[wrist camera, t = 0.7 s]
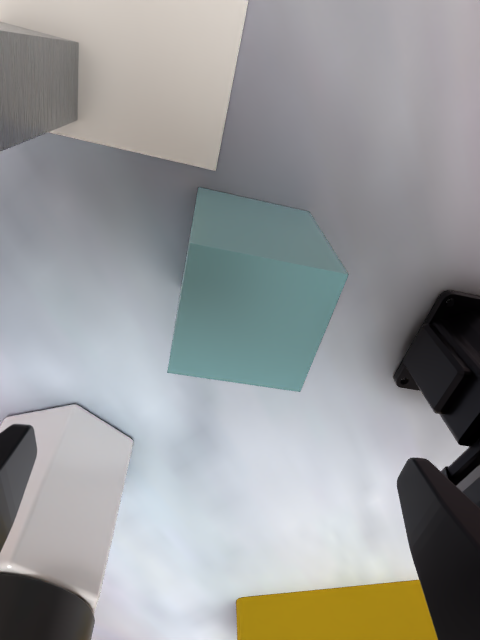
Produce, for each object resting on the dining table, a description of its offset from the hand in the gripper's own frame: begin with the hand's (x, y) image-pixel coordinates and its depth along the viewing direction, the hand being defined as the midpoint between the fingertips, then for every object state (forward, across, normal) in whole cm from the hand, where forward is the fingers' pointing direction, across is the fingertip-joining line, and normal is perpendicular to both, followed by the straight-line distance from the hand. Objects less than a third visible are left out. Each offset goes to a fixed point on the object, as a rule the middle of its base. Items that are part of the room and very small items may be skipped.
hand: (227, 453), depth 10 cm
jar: (+12, +9, +15) cm, 21 cm away
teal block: (+12, -1, 0) cm, 12 cm away
